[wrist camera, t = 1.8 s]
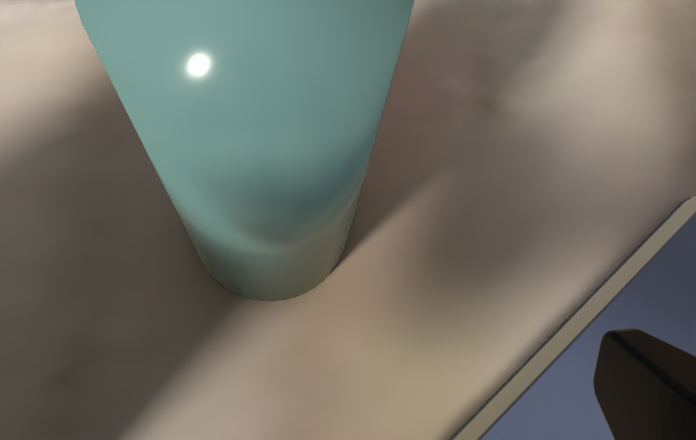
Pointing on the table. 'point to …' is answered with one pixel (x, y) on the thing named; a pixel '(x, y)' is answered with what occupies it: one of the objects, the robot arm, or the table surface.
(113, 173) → the table surface
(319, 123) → the teal smooth upright cylinder
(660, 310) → the book
